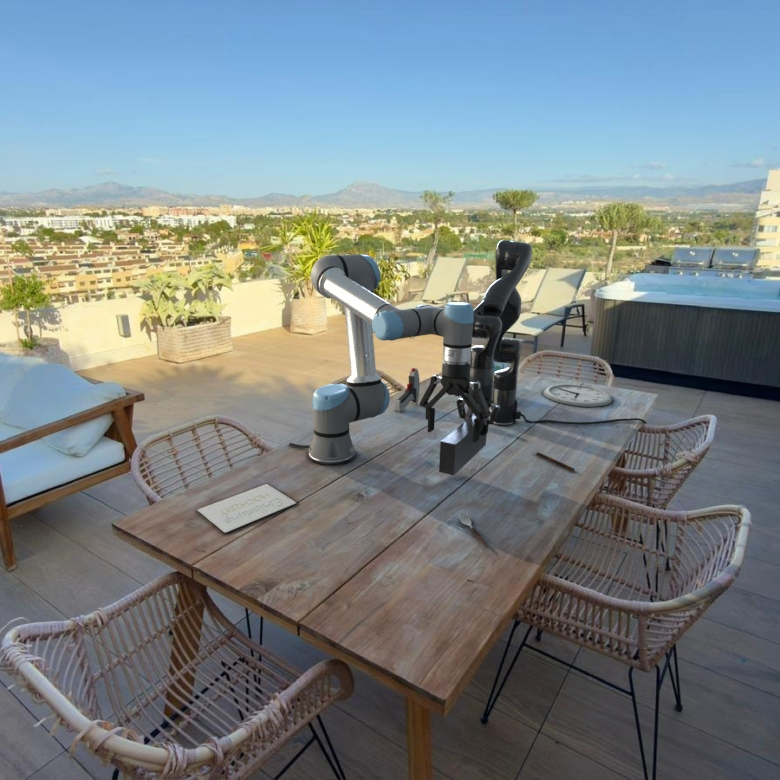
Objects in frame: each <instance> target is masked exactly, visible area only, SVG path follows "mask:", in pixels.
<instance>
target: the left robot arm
mask: <svg viewBox="0 0 780 780" xmlns="http://www.w3.org/2000/svg"><path fill="white" fill-rule="evenodd" d="M310 282H311V284H312V287H313V288H314V290H315V291H316V292H317V293H318V294H320V295H321V296H322V297H324V298H326V299H328V300H329V299H332V300H334V301H336V302H338V303H339V304H340V305H342V306H343V307H344V317H345V327H346V328H345V329H346V338H347V349H348V360H349V361H348V362H349V371H350V375H349V377H348V378H347V379H346V384H343V383H335V384H333V383H330V384H325V385H323V386H320V387H318V388H317V389H316V390H314V392H313V395H312V404H311V405H312V419H313V422H312V423H313V435H312V439H311V442H310V444H309V445H308V444H296V443H293V442H289V443H288V445H289V446H290V447H294V448H299V449H308V458H309V460H311V462H314V463H317V464H319V465H328V466H330V465H331V466H333V465H334V466H335V465H341V464H345V463H348V462H351V461H352V460H353V459H354V458H355V457H356V448H355V447H356V446H355V445H354V444H353V440H352V437H351V434H350V423H351V424H352V423H355V422H358V421H362V420H366V419H373V418H376V417H378V416H380V415H383V414H385V412H386V411H387V409H388V408H389V405H390V401H391V400H390V398H391V395H390V390H389V388H388V386H387V384H386V383H385V382H384V381H382V377H381V375H379V374H378V373H377V367H376V355H375V354H376V353H375V344H374V343H375V342H374V334H375V337H376V338H377V339H378V340H380V341H384V342H385V341H391V342H392V341H396V340H402V339H407V338H408V339H409V338H414V337H416V338H417V337H421V336H428V335H432V336H433V335H434V336H437V337H442V338H443V339H442V341H443V342H442V360H443V361H442V364H441V376H439V375H438V374H434V375H432V376H431V377H430V382H429V384H428V387H427V388H426V390H425V392H424V394H423V396H422V398H421V399H420V401H419V402H418V403H419V406H420V407H423V408H424V409H425V415H424V417H425V420H426V421H427V433H432V432H433V431H434V430H435V420H436V419H435V417H436V408H435V407H434V405H436V404H437V402H439V400H441V398H443V396H444V395H446V394H447V395H449V396H455V397H459V398H462V399H464V400H465V401H466V403H467V404H468V406H469V407H470V409H471V410H472V412H473V415H475V416H476V418H475V419H474V427H473V442H476V441H478V440H479V431H481V430H482V428H483V419H487V418H488V417H489V418H490V416H491V413H490V408H488V405H487V403H486V400H485V398H484V395H483V393H482V390H481V382H480V381H478V382H470V367H471V364H470V362H469V361H471V348H472V347H473V346H472V345H473V338H472V331H473V322H474V319H473V310H474V306H473V304H471V303H469V302H464V301H463V302H462V301H451V302H447V303H445V304H444V307H439V306H434V305H431V304H418V305H416V306H415V307H413V308H403V309H402V308H401V309H400V308H398V307H396V306H394V305H393V304H391V303H389V302H388V301H386V300H384V299H383V298H381V297H380V296H379V295H377V294H375V290H376V289H378V287H380V282H381V271H380V268H379V265H378V262H377V261H376V260H374V258H373V257H371V256H370V255H368V254H360V253H358V254H357V253H355V254H327V255H324V256H321V257H320V258H319V259H317V261H315V263H314V264H313V266H312V268H311V270H310ZM438 384H441V386H442V388H441V389H440V390H439V391H438V392H437V393H436V394H435V396H434V397H433V398H432V399H431V400H430V398H431V396H432V394H433V393H434V391H435V389H436V388H437V385H438ZM469 387H471V388H472V390H473V391H474V394H475V397H476V399H477V402H478V404H477V403H476V402H475V400H474V399H473V397H472V396H471V393H470V391H469V390H468V388H469ZM429 400H430V401H429ZM466 403H465V404H466ZM467 404H466V405H467ZM478 405H479V406H478ZM468 406H467V407H468Z"/></svg>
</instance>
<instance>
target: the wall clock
mask: <svg viewBox="0 0 780 780" xmlns="http://www.w3.org/2000/svg"><path fill="white" fill-rule="evenodd" d="M543 396H544V397H546V398H547V399H549V400H551V401H554V402H555V403H560V404H563V405H569V406H574V407H585V408H586V407H588V408H594V407H595V408H596V407H604V406H609V405H610V404H611V403H612V402H613V398H612V396H611V395H610V394H608V393H607V392H605V391H604V390H601V389H598V388H594V387H590V386H586V385H579V384H556V385H551V386H549V387H546V388H545V389H544V390H543Z"/></svg>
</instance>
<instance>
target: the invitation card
mask: <svg viewBox="0 0 780 780" xmlns="http://www.w3.org/2000/svg"><path fill="white" fill-rule="evenodd" d="M296 504H297V501H295V500H294V499H291V498H290V497H289V496H287V495H285V494H283V493H282V492H280V491H279V490H277V489H276V488H274V487H273V486H271V485H269V484H267V483H265V484H263V485H260V486H257V487H254V488H251V489H249V490H245V491H244V492H241V493H238V494H235V495H232V496H230V497H227V498H224V499H222V500H219V501H216V502H214V503H211V504H209V505H206V506H203V507H201V508H198V509H197V510H196V511H197V512H198V513H200V514H201V515H202V516H203V517H205V519H207V520H209V522H211V523H212V524H213V525H215V526H216V527H217V528H218V529H219V530H221V532H223V533H224V534H227V533H229V532H231V531H234V530H236V529H239V528H241V527H243V526H246V525H248V524H251V523H253V522H256V521H258V520H260V519H263V518H265V517H267V516H270V515H272V514H275V513H277V512H279V511H281V510H284V509H287V508H289V507H291V506H294V505H296Z"/></svg>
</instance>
